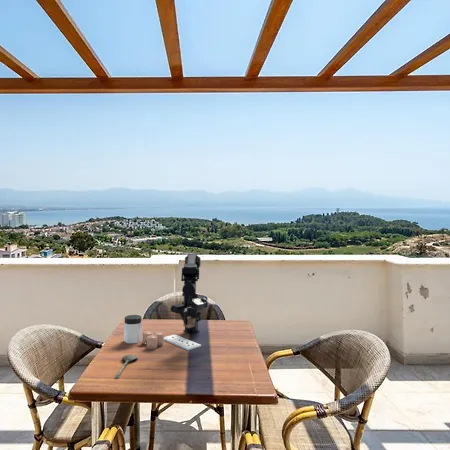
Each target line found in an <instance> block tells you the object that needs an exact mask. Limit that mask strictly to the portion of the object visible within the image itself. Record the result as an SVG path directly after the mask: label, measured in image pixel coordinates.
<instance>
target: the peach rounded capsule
mask: <svg viewBox="0 0 450 450" xmlns="http://www.w3.org/2000/svg"><path fill="white" fill-rule="evenodd" d="M153 335H156V336H157V342H158V347H159V346H163V345H164V344H165V340H164V337H165V333H164V332H160V331H158V332H153Z"/></svg>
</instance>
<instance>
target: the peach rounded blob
mask: <svg viewBox="0 0 450 450" xmlns="http://www.w3.org/2000/svg"><path fill="white" fill-rule="evenodd" d="M158 347H159V346H158V342H157V336H156V335H154V334H153V335H150V336H147V345H146V348H147V350H155V349H157V348H158Z"/></svg>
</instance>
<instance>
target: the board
mask: <svg viewBox="0 0 450 450" xmlns="http://www.w3.org/2000/svg"><path fill="white" fill-rule="evenodd" d="M164 342H166V343H170V344H172V345H175V346H177V347H179V348H182V349H184V350H186V351H191V350H194V349H199V348H202V344H200V343H197V342H195V341H193V340H189V339H187V338H185V337H182V336H180V335H177V334H176V333H175V334H170V335H167V336H164Z"/></svg>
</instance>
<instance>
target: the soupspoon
mask: <svg viewBox="0 0 450 450" xmlns="http://www.w3.org/2000/svg"><path fill="white" fill-rule="evenodd" d="M121 359H122V360H124V361H125V362H124V363H123V365H122V367H121V368H120V370H119V371H118V373H116V375H114V378H115V379H119V378H120V376H121V373H122V372H123V370H124V368H125V367H126V365H127V364H128V363H129V362H131V361H134V360H136V359H138V356H137V355H135V354H126V355H123V356H122V358H121Z"/></svg>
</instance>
